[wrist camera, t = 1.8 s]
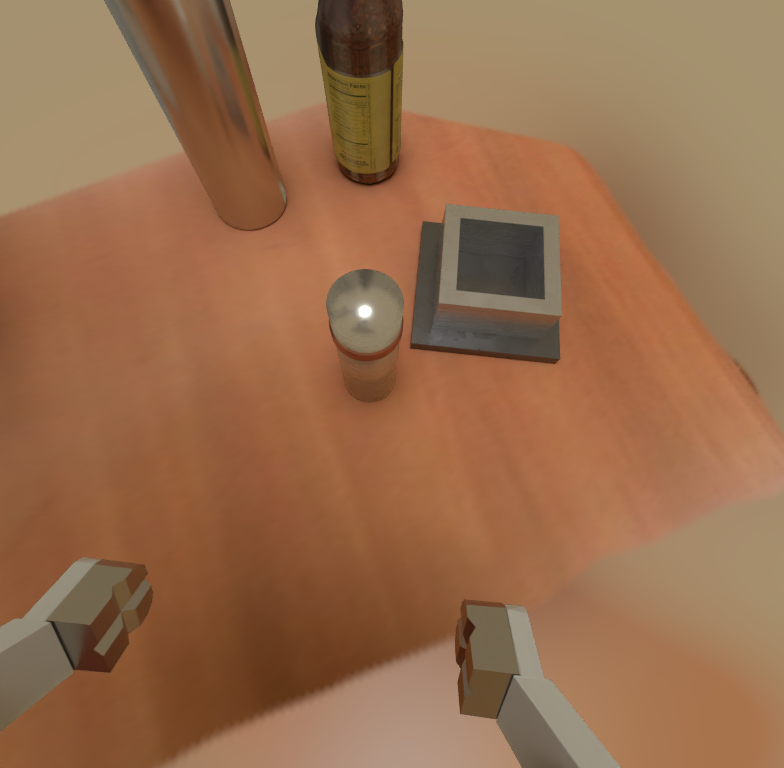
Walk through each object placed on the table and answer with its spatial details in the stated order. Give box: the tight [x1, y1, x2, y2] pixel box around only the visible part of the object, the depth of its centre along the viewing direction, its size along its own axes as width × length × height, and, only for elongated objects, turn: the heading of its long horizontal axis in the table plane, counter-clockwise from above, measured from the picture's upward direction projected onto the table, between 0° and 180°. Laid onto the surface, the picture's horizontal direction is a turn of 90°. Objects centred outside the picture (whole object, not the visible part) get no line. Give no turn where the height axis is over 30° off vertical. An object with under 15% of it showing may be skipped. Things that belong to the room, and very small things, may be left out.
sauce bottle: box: [315, 0, 403, 184], centre depth 30 cm, size 6×6×20 cm
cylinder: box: [326, 269, 404, 402], centre depth 26 cm, size 4×4×12 cm
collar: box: [410, 204, 562, 364], centre depth 32 cm, size 12×12×5 cm
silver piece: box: [104, 0, 287, 230], centre depth 25 cm, size 6×6×25 cm
